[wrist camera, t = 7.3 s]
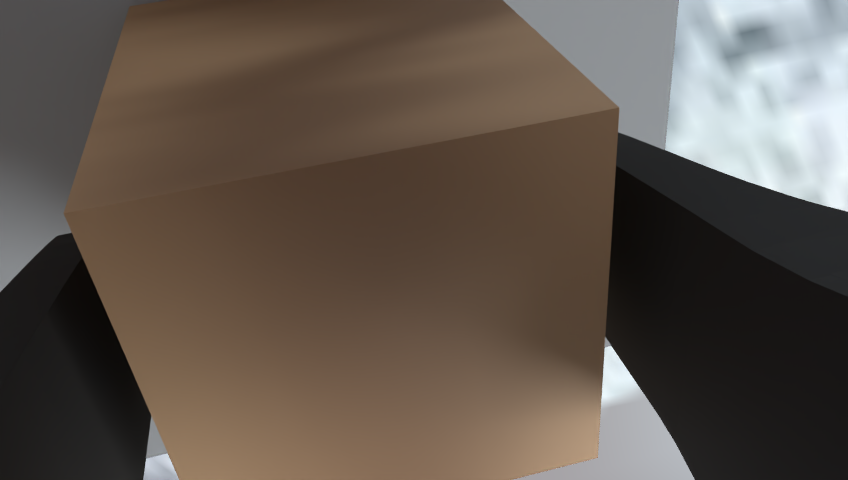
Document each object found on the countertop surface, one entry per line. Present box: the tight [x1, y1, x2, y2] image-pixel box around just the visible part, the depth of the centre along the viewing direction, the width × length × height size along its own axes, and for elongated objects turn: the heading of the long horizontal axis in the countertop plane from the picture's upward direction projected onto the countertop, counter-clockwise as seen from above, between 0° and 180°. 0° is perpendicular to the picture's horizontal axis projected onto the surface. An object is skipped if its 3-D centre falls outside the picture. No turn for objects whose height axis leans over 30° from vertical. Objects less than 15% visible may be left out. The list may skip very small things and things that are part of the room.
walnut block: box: [63, 0, 619, 480], centre depth 11 cm, size 5×5×6 cm
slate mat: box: [0, 0, 679, 458], centre depth 13 cm, size 13×13×1 cm
